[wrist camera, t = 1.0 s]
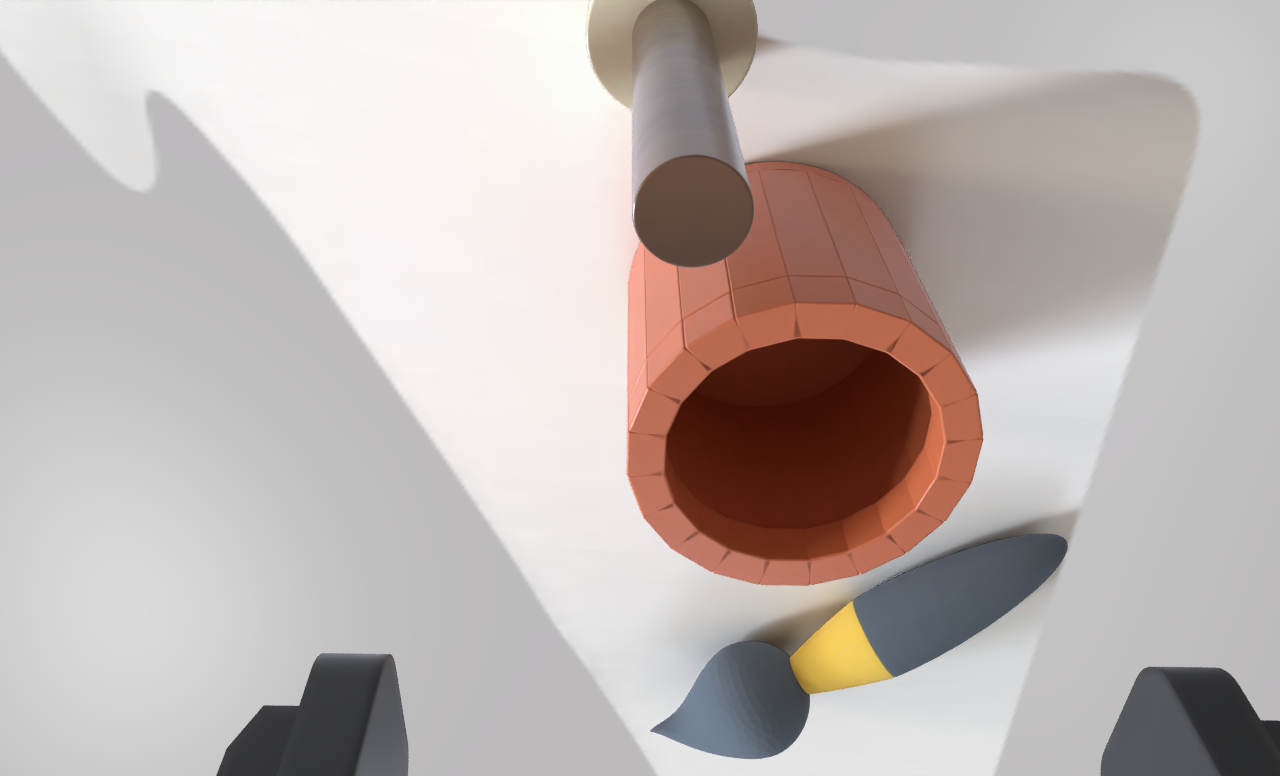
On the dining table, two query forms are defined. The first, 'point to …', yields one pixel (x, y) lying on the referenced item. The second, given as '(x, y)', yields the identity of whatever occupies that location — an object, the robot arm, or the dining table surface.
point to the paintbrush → (858, 646)
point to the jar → (796, 392)
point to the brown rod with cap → (680, 118)
